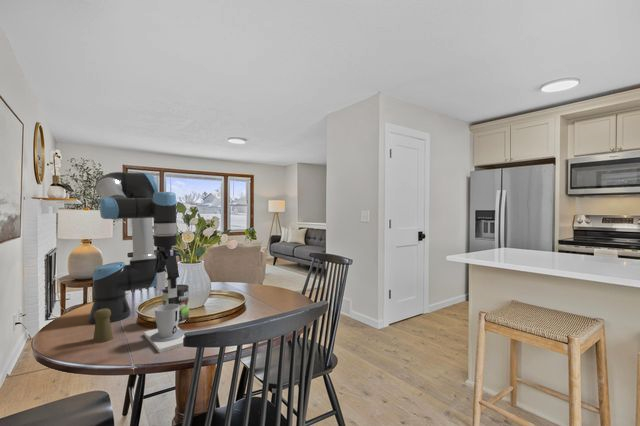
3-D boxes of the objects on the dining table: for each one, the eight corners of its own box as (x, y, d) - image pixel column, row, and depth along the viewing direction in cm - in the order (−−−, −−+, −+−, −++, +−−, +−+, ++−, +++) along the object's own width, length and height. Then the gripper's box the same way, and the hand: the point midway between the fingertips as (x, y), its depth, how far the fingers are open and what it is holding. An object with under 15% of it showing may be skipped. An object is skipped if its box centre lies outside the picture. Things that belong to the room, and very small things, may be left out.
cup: (178, 337, 113) (177, 309, 113) (152, 340, 111) (152, 312, 110) (181, 329, 121) (180, 303, 121) (157, 331, 119) (157, 305, 118)
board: (144, 335, 120) (144, 331, 120) (174, 327, 127) (174, 323, 127) (159, 352, 105) (159, 348, 105) (193, 343, 112) (193, 338, 112)
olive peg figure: (91, 344, 112) (90, 313, 112) (94, 338, 117) (93, 308, 117) (112, 340, 115) (111, 310, 115) (114, 334, 120) (113, 305, 120)
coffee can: (194, 316, 139) (193, 284, 139) (179, 325, 129) (178, 290, 129) (173, 315, 141) (172, 283, 141) (157, 324, 131) (156, 289, 131)
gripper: (145, 233, 122) (146, 288, 122) (164, 238, 103) (166, 303, 104) (166, 232, 127) (167, 285, 127) (188, 236, 108) (189, 298, 109)
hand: (166, 293), depth 116 cm, fingers open, 13 cm apart
